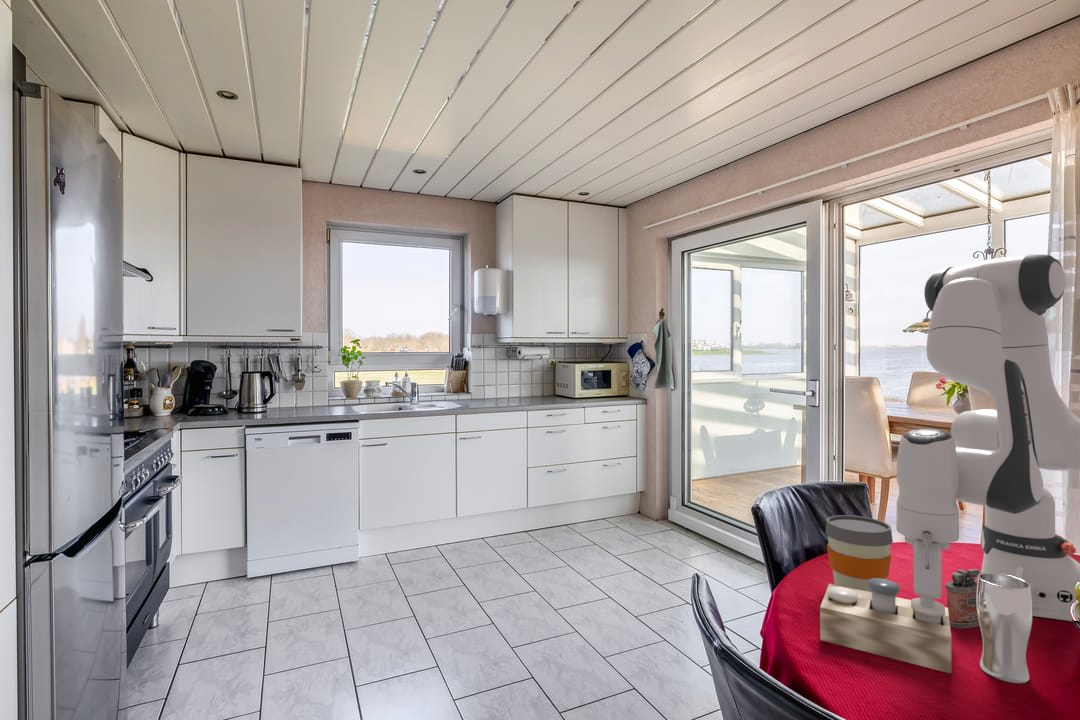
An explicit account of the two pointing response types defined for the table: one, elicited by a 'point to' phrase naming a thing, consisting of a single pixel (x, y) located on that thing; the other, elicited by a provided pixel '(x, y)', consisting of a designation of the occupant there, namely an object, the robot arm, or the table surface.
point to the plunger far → (842, 595)
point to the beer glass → (1004, 625)
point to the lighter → (962, 599)
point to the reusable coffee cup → (858, 550)
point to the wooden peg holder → (886, 631)
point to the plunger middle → (883, 595)
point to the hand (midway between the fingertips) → (926, 604)
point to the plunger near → (928, 611)
